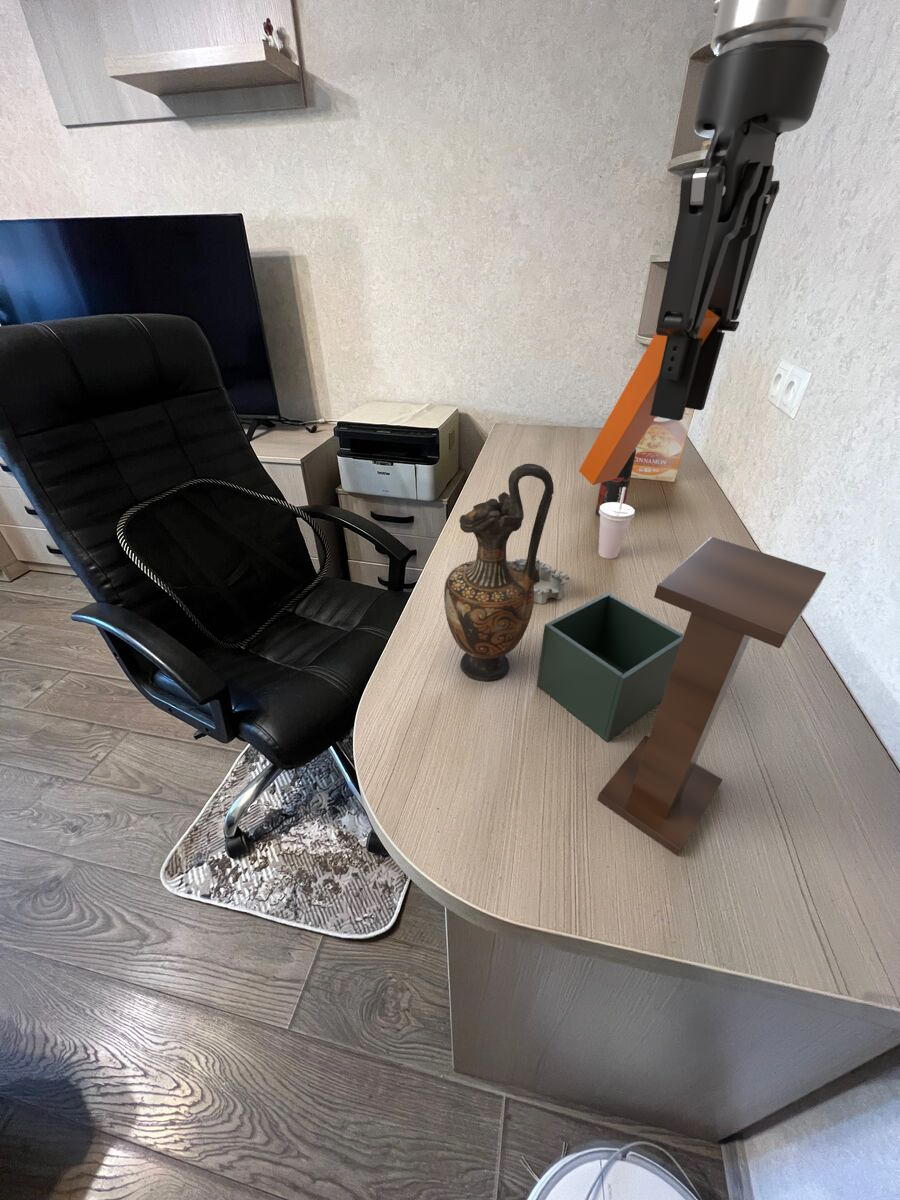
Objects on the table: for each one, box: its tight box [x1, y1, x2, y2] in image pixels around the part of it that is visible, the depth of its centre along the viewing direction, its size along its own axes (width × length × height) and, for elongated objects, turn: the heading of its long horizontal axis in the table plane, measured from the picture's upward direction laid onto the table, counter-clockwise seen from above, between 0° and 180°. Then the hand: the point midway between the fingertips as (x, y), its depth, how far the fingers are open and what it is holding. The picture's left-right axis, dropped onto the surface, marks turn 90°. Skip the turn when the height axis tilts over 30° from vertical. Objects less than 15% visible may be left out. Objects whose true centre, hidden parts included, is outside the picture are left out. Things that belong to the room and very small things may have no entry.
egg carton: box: [507, 557, 570, 605], centre depth 88 cm, size 11×8×4 cm
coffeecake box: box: [630, 408, 695, 483], centre depth 128 cm, size 15×7×20 cm, turn 73°
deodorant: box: [595, 448, 636, 518], centre depth 110 cm, size 6×6×15 cm
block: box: [578, 309, 719, 486], centre depth 50 cm, size 18×4×2 cm
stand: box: [597, 536, 827, 857], centre depth 47 cm, size 11×9×28 cm
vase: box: [443, 463, 555, 682], centre depth 63 cm, size 12×12×30 cm
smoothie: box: [598, 487, 636, 560], centre depth 95 cm, size 6×6×14 cm
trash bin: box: [536, 592, 684, 743], centre depth 65 cm, size 12×12×11 cm
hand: (677, 411), depth 47 cm, fingers closed on block, 4 cm apart
